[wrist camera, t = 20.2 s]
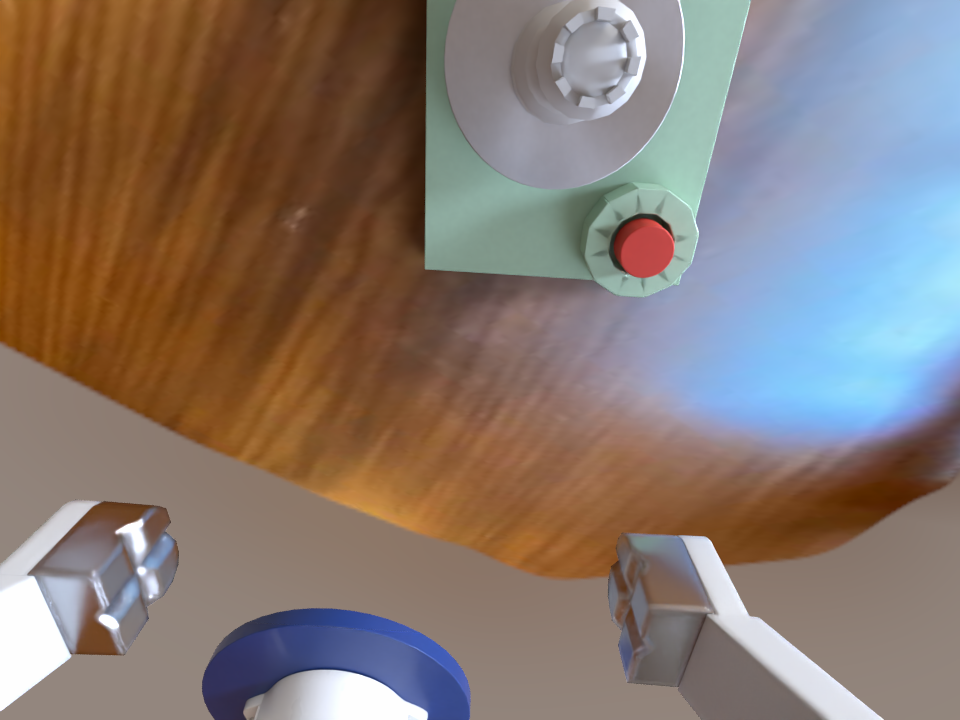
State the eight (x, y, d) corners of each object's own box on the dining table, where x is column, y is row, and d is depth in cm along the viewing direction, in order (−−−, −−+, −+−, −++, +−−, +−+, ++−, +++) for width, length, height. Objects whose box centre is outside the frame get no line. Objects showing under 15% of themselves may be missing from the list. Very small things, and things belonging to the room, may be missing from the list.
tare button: (659, 270, 27) (668, 280, 25) (609, 266, 27) (615, 276, 25) (671, 219, 26) (680, 227, 24) (618, 216, 26) (625, 223, 24)
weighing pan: (651, 194, 25) (655, 196, 24) (442, 180, 25) (441, 182, 24) (707, -74, 20) (714, -79, 19) (448, -92, 20) (447, -97, 19)
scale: (667, 278, 30) (687, 300, 27) (428, 263, 30) (420, 283, 27) (753, -78, 23) (794, -102, 19) (432, -100, 22) (422, -128, 19)
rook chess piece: (636, 27, 21) (707, -1, 14) (589, 139, 23) (632, 165, 16) (533, -17, 20) (553, -68, 13) (495, 103, 22) (495, 113, 15)
